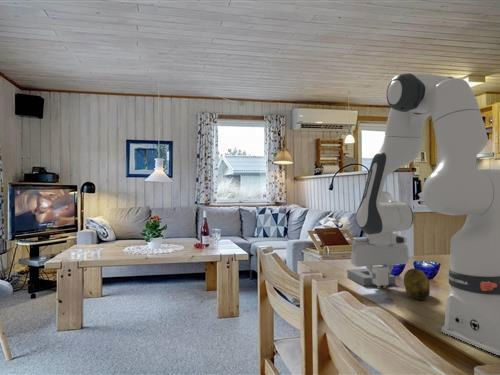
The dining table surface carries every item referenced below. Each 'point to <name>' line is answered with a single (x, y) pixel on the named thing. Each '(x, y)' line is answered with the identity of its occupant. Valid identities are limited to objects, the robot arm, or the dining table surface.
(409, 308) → the dining table surface
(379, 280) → the plug
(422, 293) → the potato
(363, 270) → the socket
